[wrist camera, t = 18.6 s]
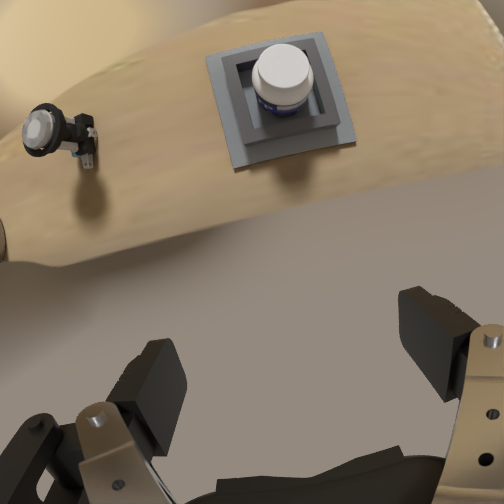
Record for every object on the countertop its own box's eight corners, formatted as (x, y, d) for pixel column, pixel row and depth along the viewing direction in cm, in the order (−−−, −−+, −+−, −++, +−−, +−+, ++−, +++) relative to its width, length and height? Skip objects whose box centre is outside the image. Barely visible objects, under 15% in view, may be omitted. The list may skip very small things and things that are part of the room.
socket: (234, 168, 32) (229, 167, 29) (205, 58, 30) (199, 48, 27) (355, 141, 30) (363, 137, 28) (321, 33, 28) (325, 21, 25)
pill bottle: (247, 82, 29) (237, 49, 21) (293, 64, 29) (299, 27, 20) (268, 126, 30) (266, 106, 22) (316, 107, 30) (329, 82, 21)
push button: (110, 161, 33) (58, 158, 23) (75, 175, 33) (20, 177, 24) (102, 109, 32) (51, 92, 22) (68, 125, 32) (14, 115, 22)
